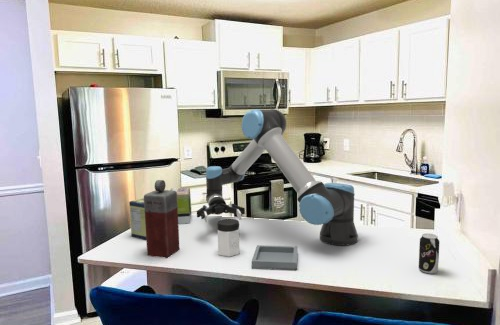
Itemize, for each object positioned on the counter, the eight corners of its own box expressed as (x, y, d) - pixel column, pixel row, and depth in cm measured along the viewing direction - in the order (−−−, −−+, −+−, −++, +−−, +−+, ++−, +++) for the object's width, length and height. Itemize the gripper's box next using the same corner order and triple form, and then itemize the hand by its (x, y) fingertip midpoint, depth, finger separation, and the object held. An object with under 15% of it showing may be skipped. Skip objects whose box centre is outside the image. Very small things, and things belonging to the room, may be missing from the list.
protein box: (173, 230, 170) (172, 196, 167) (148, 240, 156) (145, 204, 154) (156, 226, 175) (154, 194, 173) (130, 236, 162) (128, 201, 159)
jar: (224, 258, 136) (223, 226, 134) (213, 251, 143) (212, 221, 141) (244, 253, 141) (244, 222, 139) (233, 246, 147) (232, 217, 146)
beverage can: (441, 274, 120) (443, 238, 118) (424, 275, 119) (426, 238, 118) (431, 266, 125) (433, 232, 124) (415, 267, 125) (416, 233, 123)
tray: (297, 253, 140) (297, 246, 139) (296, 270, 125) (296, 262, 124) (257, 251, 142) (256, 245, 141) (251, 268, 127) (251, 261, 127)
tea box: (172, 216, 192) (170, 187, 190) (191, 215, 193) (190, 186, 191) (169, 224, 177) (167, 194, 175) (190, 223, 178) (189, 193, 176)
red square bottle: (154, 246, 149) (150, 177, 145) (179, 249, 146) (176, 178, 142) (141, 254, 141) (136, 181, 137) (168, 258, 137) (164, 182, 133)
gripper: (244, 210, 174) (254, 224, 153) (189, 214, 168) (192, 229, 148) (244, 194, 172) (254, 206, 152) (189, 198, 167) (191, 210, 147)
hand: (223, 217), depth 150 cm, fingers open, 13 cm apart
